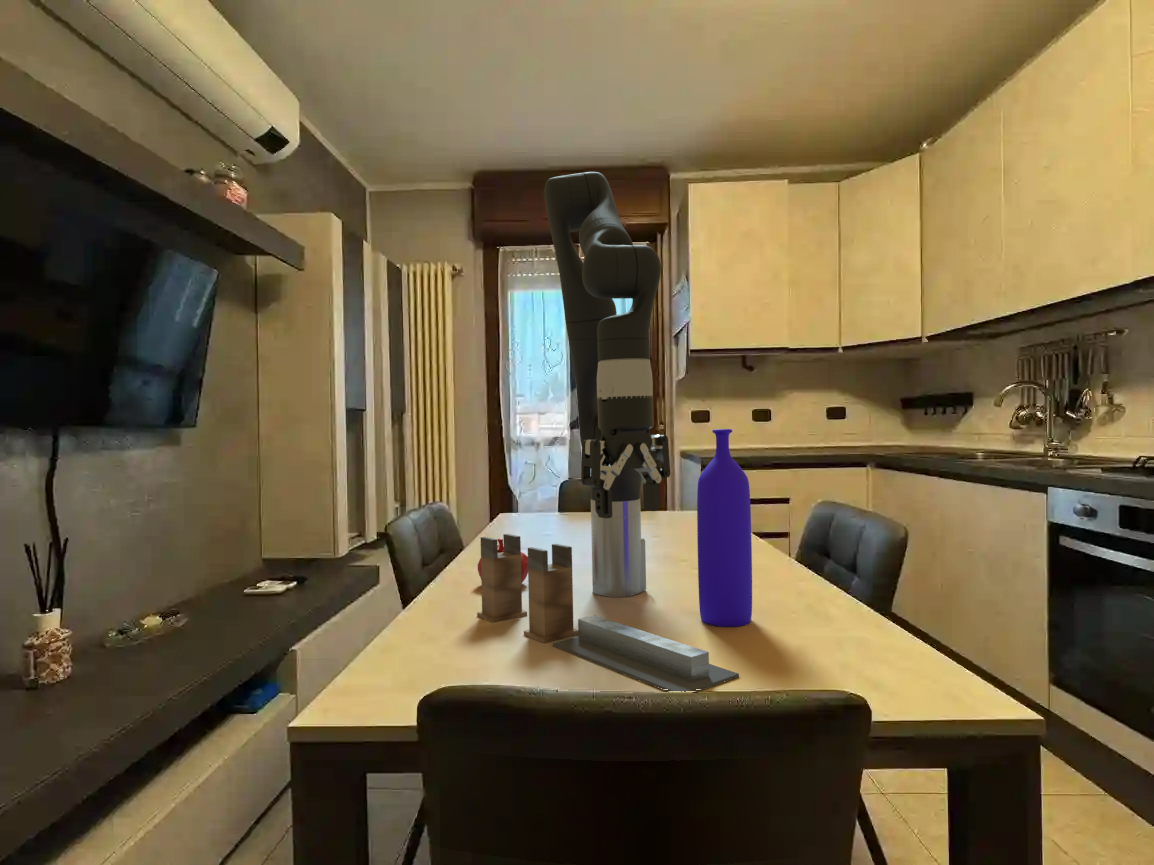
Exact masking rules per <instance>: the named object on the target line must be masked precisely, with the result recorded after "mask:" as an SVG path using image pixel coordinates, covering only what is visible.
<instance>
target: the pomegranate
mask: <svg viewBox="0 0 1154 865" xmlns="http://www.w3.org/2000/svg"><path fill="white" fill-rule="evenodd" d="M497 543H498V544H497V547H498V553H501V552H504V538H497ZM477 572H478V575H479V576H478V577H480V578H481V557H480V558H479V560H478V563H477ZM527 576H528V555H526V554H525V553H524V552H523V551H521V584H523V583H524V581H525V580H526V578H528V577H527Z"/></svg>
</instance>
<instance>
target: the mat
mask: <svg viewBox="0 0 1154 865" xmlns="http://www.w3.org/2000/svg"><path fill="white" fill-rule="evenodd" d="M552 646H553V647H554V648H558V649H560V650H562V651H565V652H566V653H569V654H571V655H575V656H577V657H580V658H581V659H585V660H587V661H589V662H592V663H595V664H597V665H600V666H603V667H604V668H607V669H609V670H612V671H614V672H617V673H619V674H621V675H624V674H625V676H627V677H629V676H630V677H629V678H632V679H634V678H635V680H636V681H639V680H640V681H639V682H642V683H644V682H645V683H644V684H646V685H649V684H650V685H649V686H651V685H653V686H652V687H654V686H656V687H659V688H662V689H668V690H665V692H666V691H681V692H682V691H684V692H686V691H698V692H700V691H702V690H696V689H704V690H706V689H705V688H707V689H709V688H711V687H710V686H712V687H714V686H713V685H715V686H717V685H716V684H718V685H720V684H719V683H721V684H723V683H722V682H724V681H726V682H728V681H727V680H729V681H731V680H730V679H732V680H734V679H733V678H735V679H737V678H736V677H738V678H739V677H740V673H738V672H735V671H732V670H729V669H726V668H723V667H721V666H718V665H714V664H710V663H709V677H707V678H704V679H701V680H698V681H695V682H692V683H691V682H689V681H686V680H683V679H681V678H678V677H675V676H673V675H670V674H667V673H665V672H662V671H659V670H657V669H654V668H652V667H649V666H646V665H644V664H641V663H638V662H636V661H633V660H630V659H628V658H625V657H622V656H620V655H617V654H614V653H612V652H609V651H606V650H604V649H601V648H598V647H596V646H593V645H590V644H588V643H585V642H582V641H580V640H578V636H575V637H572V638H567V639H562V640H559V641H555V642H553V643H552ZM724 683H725V682H724ZM656 687H655V688H656ZM708 687H709V688H708ZM659 688H658V689H659Z"/></svg>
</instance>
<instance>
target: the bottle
mask: <svg viewBox="0 0 1154 865" xmlns="http://www.w3.org/2000/svg"><path fill="white" fill-rule="evenodd" d="M711 432H712V433H713V434H714V435H715V446H716V447H715V453H714V456H713V458H712V459H711V461H710V462H709V463H708V464H707V465H706V466H705V468H704V470H702V472H701V474H700V475H699V477H698V480H697V492H696V493H697V497H696V500H697V501H696V504H697V505H696V506H697V507H696V508H697V509H696V511H697V512H696V513H697V514H696V515H697V516H696V520H697V521H696V526H697V528H696V529H697V530H696V533H697V534H696V535H697V538H696V539H697V573H698V574H697V576H698V577H697V579H698V604H699V616H700V619H701V621H702V622H703V623H704V624H706V625H711V626H713V627H714V626H715V627H723V628H734V627H735V628H737V627H743V626H747V625H748V624H750V622H751V621H752V614H753V561H752V560H753V559H752V558H753V555H752V554H753V550H752V548H753V547H752V546H753V545H752V513H751V512H752V511H751V508H752V507H751V492H750V491H751V490H750V482H749V478H748V476H747V475H746V473H745V471H744V470H743V469H742V468H741V466H740V465H739V464H738V463H737V461H736V460H734V458H733V457H732V454H731V452H730V434H731V433H733V429H730V428H720V429H719V428H715V429H712V431H711Z"/></svg>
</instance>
